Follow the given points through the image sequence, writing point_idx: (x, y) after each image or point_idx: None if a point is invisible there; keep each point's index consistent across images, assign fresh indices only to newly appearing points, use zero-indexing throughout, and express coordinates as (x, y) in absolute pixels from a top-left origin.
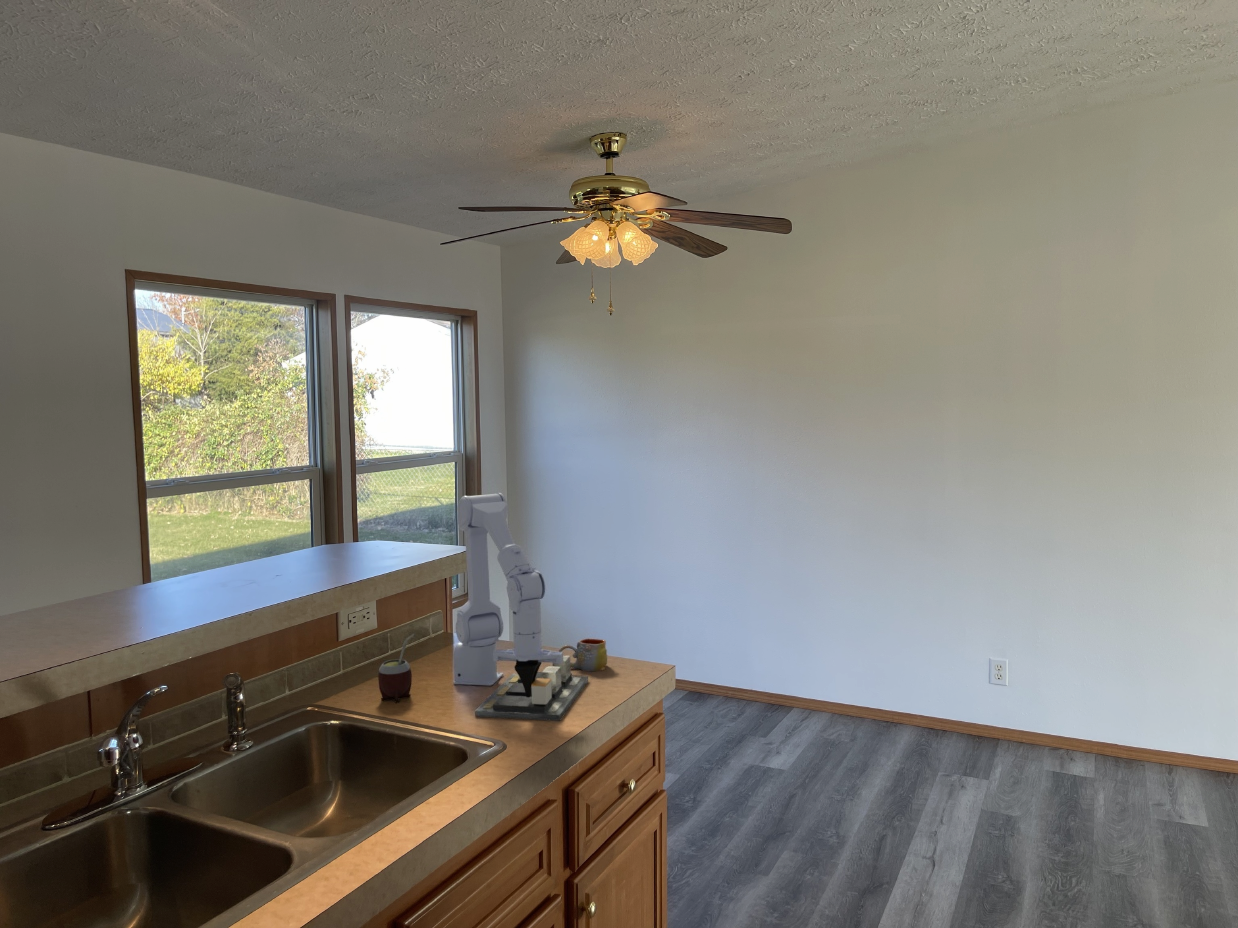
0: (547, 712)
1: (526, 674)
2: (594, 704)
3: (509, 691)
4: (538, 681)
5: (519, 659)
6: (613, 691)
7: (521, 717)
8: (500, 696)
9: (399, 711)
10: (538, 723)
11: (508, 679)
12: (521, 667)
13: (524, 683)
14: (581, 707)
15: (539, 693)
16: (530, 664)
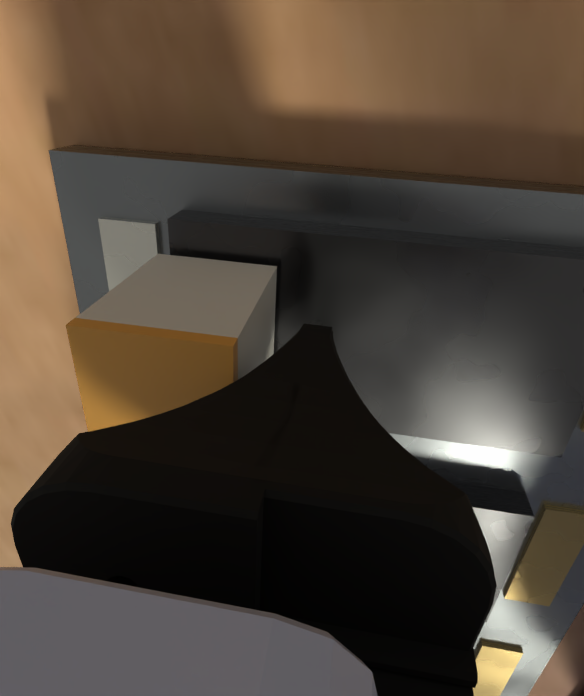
0: (156, 200)
1: (260, 425)
2: (6, 405)
3: (506, 513)
4: None
5: (256, 687)
6: (5, 535)
7: (360, 169)
8: (564, 487)
9: None
10: (205, 77)
11: (526, 678)
12: (311, 497)
13: (326, 378)
14: (49, 369)
15: (178, 294)
16: (144, 585)
